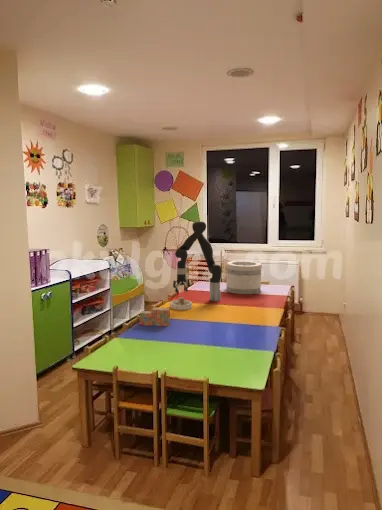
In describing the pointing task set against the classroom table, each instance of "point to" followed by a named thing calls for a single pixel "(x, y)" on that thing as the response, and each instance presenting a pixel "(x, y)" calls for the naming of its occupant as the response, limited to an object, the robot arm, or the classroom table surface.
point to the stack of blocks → (155, 317)
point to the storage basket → (243, 277)
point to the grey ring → (181, 305)
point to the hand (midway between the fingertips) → (181, 292)
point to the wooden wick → (180, 300)
